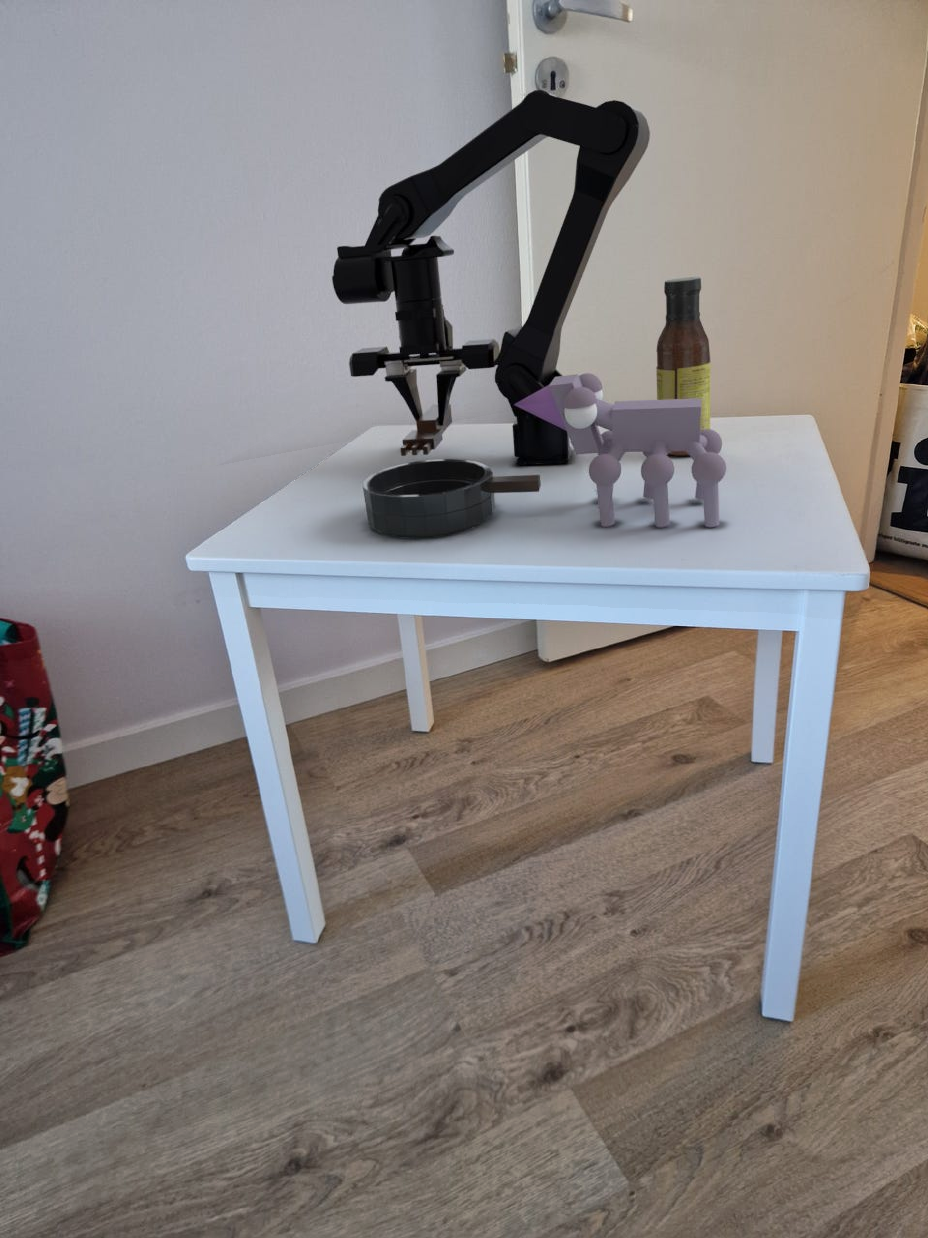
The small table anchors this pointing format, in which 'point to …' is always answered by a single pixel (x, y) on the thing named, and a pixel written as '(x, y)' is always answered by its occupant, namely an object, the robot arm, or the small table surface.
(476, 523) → the pan
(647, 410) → the toy sheep
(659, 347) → the sauce bottle
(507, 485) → the pan handle
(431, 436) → the fork
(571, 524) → the small table surface
